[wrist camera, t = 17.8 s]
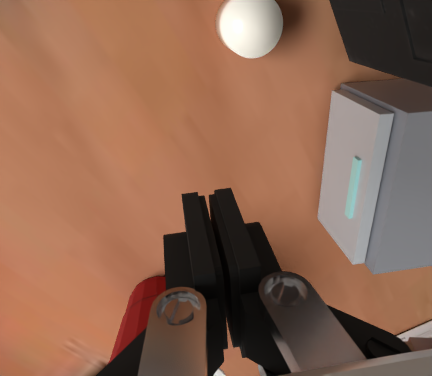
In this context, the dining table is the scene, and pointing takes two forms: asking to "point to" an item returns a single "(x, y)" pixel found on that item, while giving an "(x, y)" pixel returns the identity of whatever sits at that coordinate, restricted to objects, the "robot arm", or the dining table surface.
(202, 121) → the dining table surface
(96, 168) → the dining table surface
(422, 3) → the radio cassette player
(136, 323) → the plastic cup
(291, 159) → the dining table surface
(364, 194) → the grey rectangular fixture
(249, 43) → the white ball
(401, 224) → the housing
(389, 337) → the robot arm
